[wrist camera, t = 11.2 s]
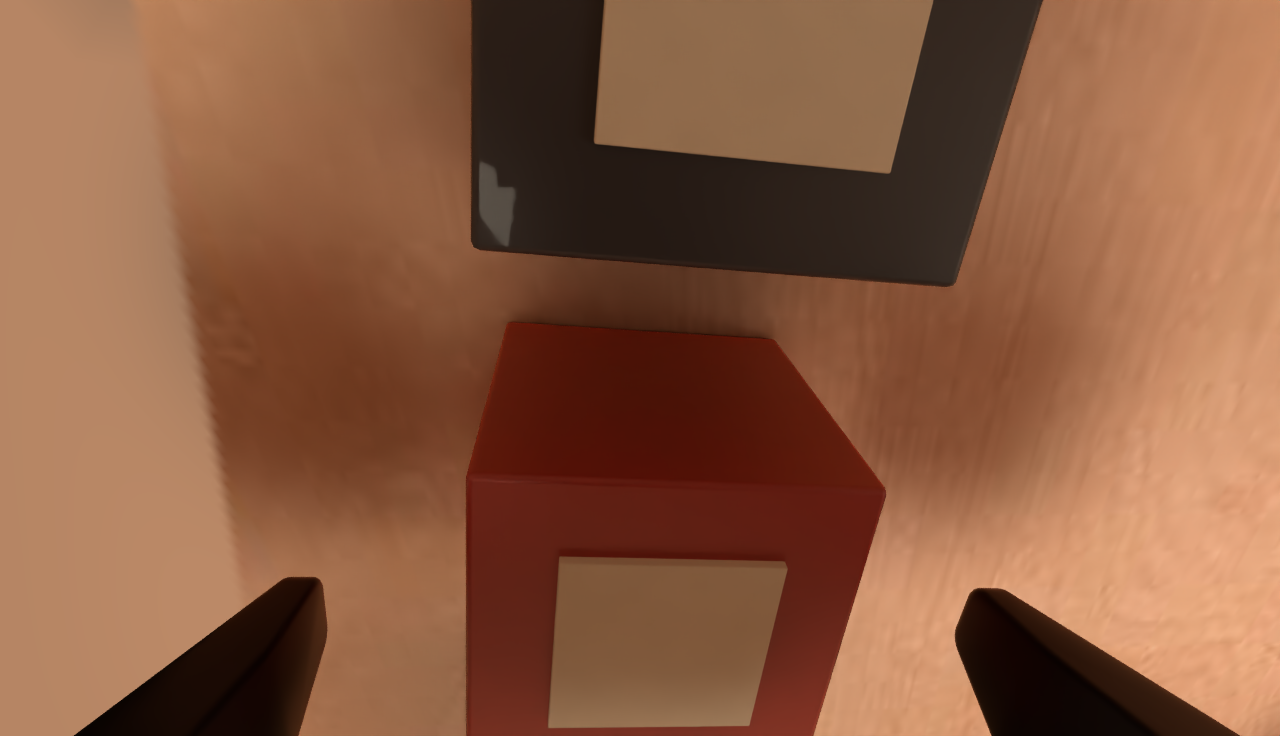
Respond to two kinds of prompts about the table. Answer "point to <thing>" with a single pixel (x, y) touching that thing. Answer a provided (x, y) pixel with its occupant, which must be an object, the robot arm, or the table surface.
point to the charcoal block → (742, 131)
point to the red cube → (657, 538)
